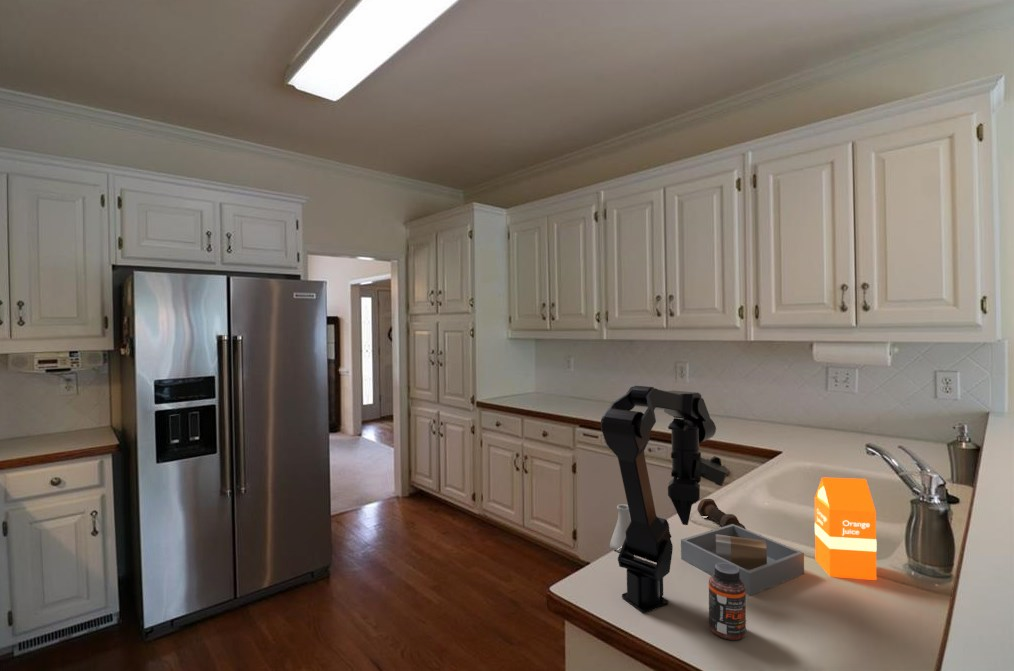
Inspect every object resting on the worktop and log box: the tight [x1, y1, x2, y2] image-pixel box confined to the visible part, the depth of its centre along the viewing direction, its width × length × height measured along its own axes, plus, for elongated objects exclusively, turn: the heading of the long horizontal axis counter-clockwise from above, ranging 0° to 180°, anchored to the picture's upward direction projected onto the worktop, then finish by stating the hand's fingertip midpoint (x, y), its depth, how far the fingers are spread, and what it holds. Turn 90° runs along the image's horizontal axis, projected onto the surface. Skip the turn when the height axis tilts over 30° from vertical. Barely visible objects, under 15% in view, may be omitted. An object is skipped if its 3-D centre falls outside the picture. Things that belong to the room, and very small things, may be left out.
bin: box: [680, 524, 805, 597], centre depth 108 cm, size 18×18×4 cm
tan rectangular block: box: [716, 534, 767, 569], centre depth 108 cm, size 4×10×5 cm, turn 67°
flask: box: [608, 503, 631, 553], centre depth 119 cm, size 7×7×10 cm
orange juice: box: [814, 476, 877, 581], centre depth 106 cm, size 8×9×20 cm
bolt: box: [696, 498, 747, 529], centre depth 129 cm, size 6×5×15 cm
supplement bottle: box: [708, 563, 747, 641], centre depth 86 cm, size 6×6×11 cm
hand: (686, 516), depth 109 cm, fingers open, 9 cm apart
